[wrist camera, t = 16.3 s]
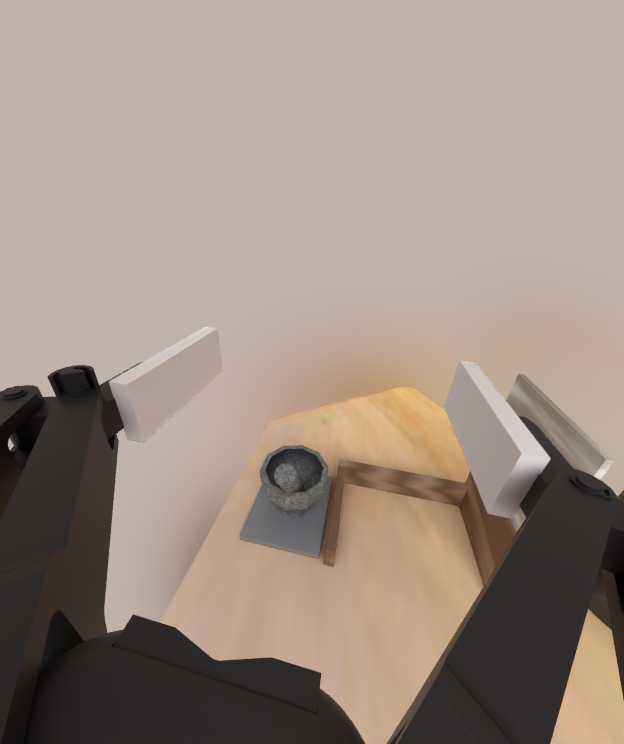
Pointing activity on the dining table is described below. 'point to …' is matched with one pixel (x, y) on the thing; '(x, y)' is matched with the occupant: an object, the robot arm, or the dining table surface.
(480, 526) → the brown piece
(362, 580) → the dining table surface
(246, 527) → the slate pad
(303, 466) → the mortar and pestle
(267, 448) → the dining table surface
